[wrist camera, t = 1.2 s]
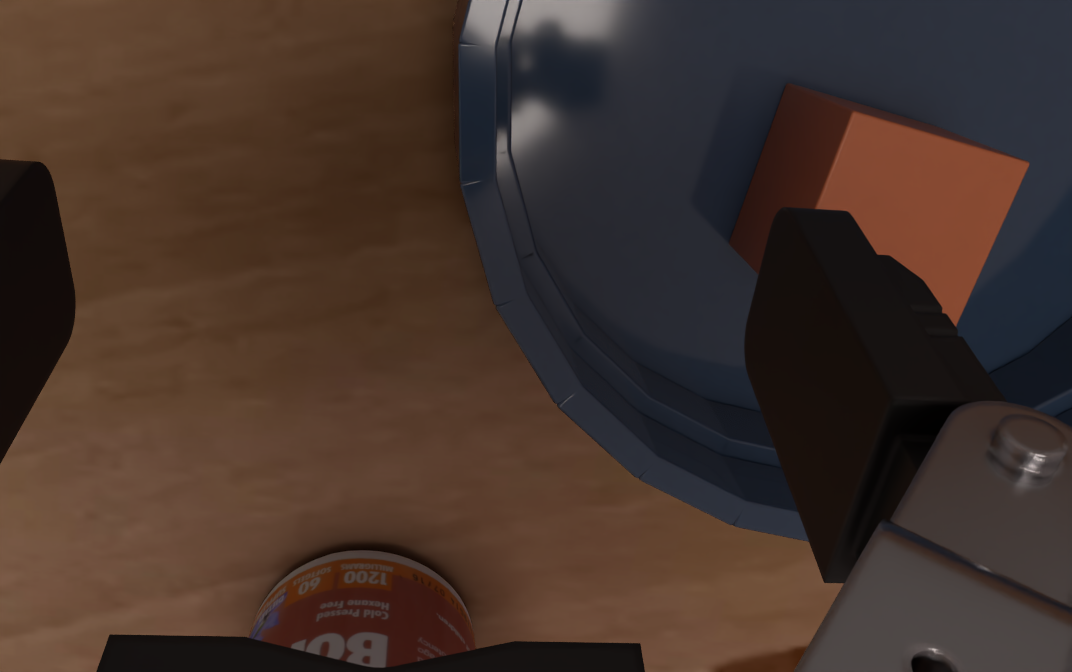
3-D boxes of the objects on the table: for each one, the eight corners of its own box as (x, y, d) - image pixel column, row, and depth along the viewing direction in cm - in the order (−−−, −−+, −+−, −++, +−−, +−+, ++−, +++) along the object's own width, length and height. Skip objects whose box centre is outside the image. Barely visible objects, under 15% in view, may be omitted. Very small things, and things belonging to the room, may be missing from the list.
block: (786, 82, 23) (853, 110, 20) (939, 127, 24) (1032, 162, 20) (727, 243, 25) (780, 299, 21) (874, 282, 25) (950, 342, 22)
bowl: (596, -568, 19) (649, -728, 14) (1413, -230, 23) (1664, -271, 18) (369, 357, 26) (355, 451, 21) (1035, 504, 29) (1150, 611, 25)
